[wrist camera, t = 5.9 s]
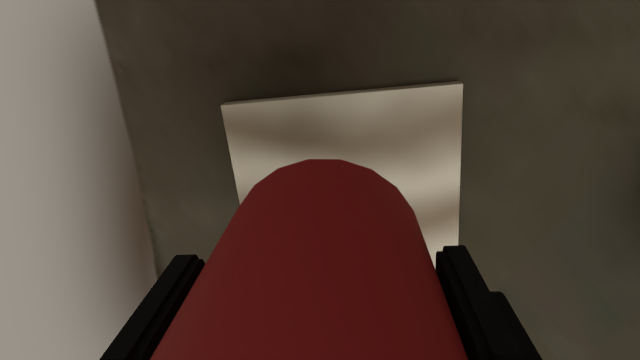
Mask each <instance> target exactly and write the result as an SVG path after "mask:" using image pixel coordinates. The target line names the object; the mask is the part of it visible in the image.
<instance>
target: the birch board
mask: <svg viewBox="0 0 640 360" xmlns="http://www.w3.org/2000/svg"><path fill="white" fill-rule="evenodd" d="M462 101H463V83H461V82H459V81H453V82H442V83H431V84H420V85H409V86H398V87H387V88H376V89H365V90H354V91H343V92H332V93H321V94H310V95H299V96H288V97H277V98H266V99H255V100H244V101H233V102H225V103H224V104H222V105H221V110H222V115H223V120H224V126H225V131H226V136H227V141H228V146H229V151H230V156H231V161H232V166H233V171H234V177H235V182H236V187H237V192H238V197H239V202H240V205H241V203H242V202H243V200H244V199H245V197H246V196H247V195H248V193H249V192H250V190H251V189H252V188H253V186H254V185H255V184H257V183H258V182H259V181H261V180H262V179H264V178H265V177H266V176H268V175H269V174H271V173H272V172H274V171H275V170H276V169H278V168H280V167H284V166H287V165H290V164H294V163H297V162H300V161H304V160H307V159H341V160H344V161H348V162H351V163H354V164H357V165H360V166H363V167H367V168H370V169H372V170H373V171H375V172H376V173H378V174H379V175H381V176H382V177H383V178H385V179H386V180H388V181H389V182H390V183H392V184H393V185H395V186H396V187H397V188H398V189H399V191H400V192H401V194H402V195H403V196H404V198H405V199H406V200H407V202H408V203H409V205H410V206H411V207H412V209H413V210H414V213H415V215H416V218H417V221H418V224H419V226H420V229H421V232H422V234H423V237H424V240H425V243H426V245H427V248H428V251H429V254H430V256H431V259H432V262H433V265H434V267H435V266H436V252H437V251H443V247H444V246H457V245H458V230H459V198H460V165H461V133H462Z"/></svg>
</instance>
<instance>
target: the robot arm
mask: <svg viewBox="0 0 640 360" xmlns="http://www.w3.org/2000/svg"><path fill="white" fill-rule="evenodd" d="M204 266H205V263H204V261H203V260H202V259H199V258H198V257H197V255H176V256H175V257H174V258H173V260H172V261H171V262H170V264H169V265H168V266H167V268H166V269H165V271H164V272H163V273H162V275H161V276H160V277H159V279H158V280H157V282H156V283H155V284H154V286H153V287H152V288H151V290H150V291H149V293H148V294H147V295H146V297H145V298H144V299H143V301H142V302H141V303H140V305H139V306H138V308H137V309H136V310H135V312H134V313H133V314H132V316H131V317H130V318H129V320H128V321H127V323H126V324H125V325H124V327H123V328H122V330H121V331H120V332H119V334H118V335H117V336H116V338H115V339H114V340H113V342H112V343H111V344H110V346H109V347H108V349H107V350H106V351H105V353H104V354H103V356H102V357H101V358H100V360H150V359H151V357H152V355H153V353H154V352H155V350H156V348H157V347H158V345H159V343H160V341H161V340H162V338H163V336H164V334H165V333H166V331H167V329H168V328H169V326H170V324H171V322H172V321H173V319H174V317H175V316H176V314H177V312H178V310H179V309H180V307H181V305H182V304H183V302H184V300H185V298H186V297H187V295H188V293H189V292H190V290H191V288H192V286H193V285H194V283H195V281H196V279H197V278H198V276H199V274H200V273H201V271H202V269H203V267H204ZM435 270H436V273H437V276H438V278H439V281H440V284H441V287H442V289H443V292H444V295H445V297H446V300H447V303H448V306H449V308H450V311H451V314H452V317H453V319H454V322H455V325H456V328H457V330H458V333H459V336H460V339H461V341H462V344H463V347H464V350H465V352H466V355H467V358H468V360H542V358H541V357H540V355H539V353H538V352H537V350H536V348H535V347H534V345H533V343H532V341H531V340H530V338H529V336H528V335H527V333H526V331H525V329H524V328H523V326H522V324H521V323H520V321H519V319H518V317H517V316H516V314H515V312H514V311H513V309H512V307H511V306H510V304H509V302H508V300H507V299H506V297H505V296H504V294H503V293H502V292H500V291H497V292H490V291H489V289H488V287H487V286H486V284H485V282H484V280H483V278H482V276H481V274H480V273H479V271H478V269H477V267H476V265H475V263H474V261H473V260H472V258H471V256H470V254H469V252H468V250H467V248H466V247H465V246H464V245H457V246H444V247H443V251H437V252H436V266H435Z"/></svg>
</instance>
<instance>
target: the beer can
mask: <svg viewBox="0 0 640 360" xmlns="http://www.w3.org/2000/svg"><path fill="white" fill-rule="evenodd" d="M150 360H468V358H467V355H466V352H465V350H464V347H463V344H462V341H461V339H460V336H459V333H458V330H457V328H456V325H455V322H454V319H453V317H452V314H451V311H450V308H449V306H448V303H447V300H446V297H445V295H444V292H443V289H442V287H441V284H440V281H439V278H438V276H437V273H436V270H435V267H434V265H433V262H432V259H431V256H430V254H429V251H428V248H427V245H426V243H425V240H424V237H423V234H422V232H421V229H420V226H419V224H418V221H417V218H416V215H415V213H414V210H413V209H412V207H411V206H410V205H409V203H408V202H407V200H406V199H405V198H404V196H403V195H402V194H401V192H400V191H399V189H398V188H397V187H396V186H395V185H393V184H392V183H390V182H389V181H388V180H386V179H385V178H383V177H382V176H381V175H379V174H378V173H376V172H375V171H373V170H372V169H370V168H367V167H363V166H360V165H357V164H354V163H351V162H348V161H344V160H341V159H307V160H304V161H300V162H297V163H294V164H290V165H287V166H284V167H280V168H278V169H276V170H275V171H274V172H272V173H271V174H269V175H268V176H266V177H265V178H264V179H262V180H261V181H259V182H258V183H257V184H255V185H254V186H253V188H252V189H251V190H250V192H249V193H248V195H247V196H246V197H245V199H244V200H243V202H242V203H241V205H240V206H239V207H238V209H237V211H236V212H235V214H234V216H233V218H232V219H231V221H230V223H229V224H228V226H227V228H226V230H225V231H224V233H223V235H222V237H221V238H220V240H219V242H218V243H217V245H216V247H215V249H214V250H213V252H212V254H211V255H210V257H209V259H208V261H207V262H206V264H205V266H204V267H203V269H202V271H201V273H200V274H199V276H198V278H197V279H196V281H195V283H194V285H193V286H192V288H191V290H190V292H189V293H188V295H187V297H186V298H185V300H184V302H183V304H182V305H181V307H180V309H179V310H178V312H177V314H176V316H175V317H174V319H173V321H172V322H171V324H170V326H169V328H168V329H167V331H166V333H165V334H164V336H163V338H162V340H161V341H160V343H159V345H158V347H157V348H156V350H155V352H154V353H153V355H152V357H151V359H150Z"/></svg>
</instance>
